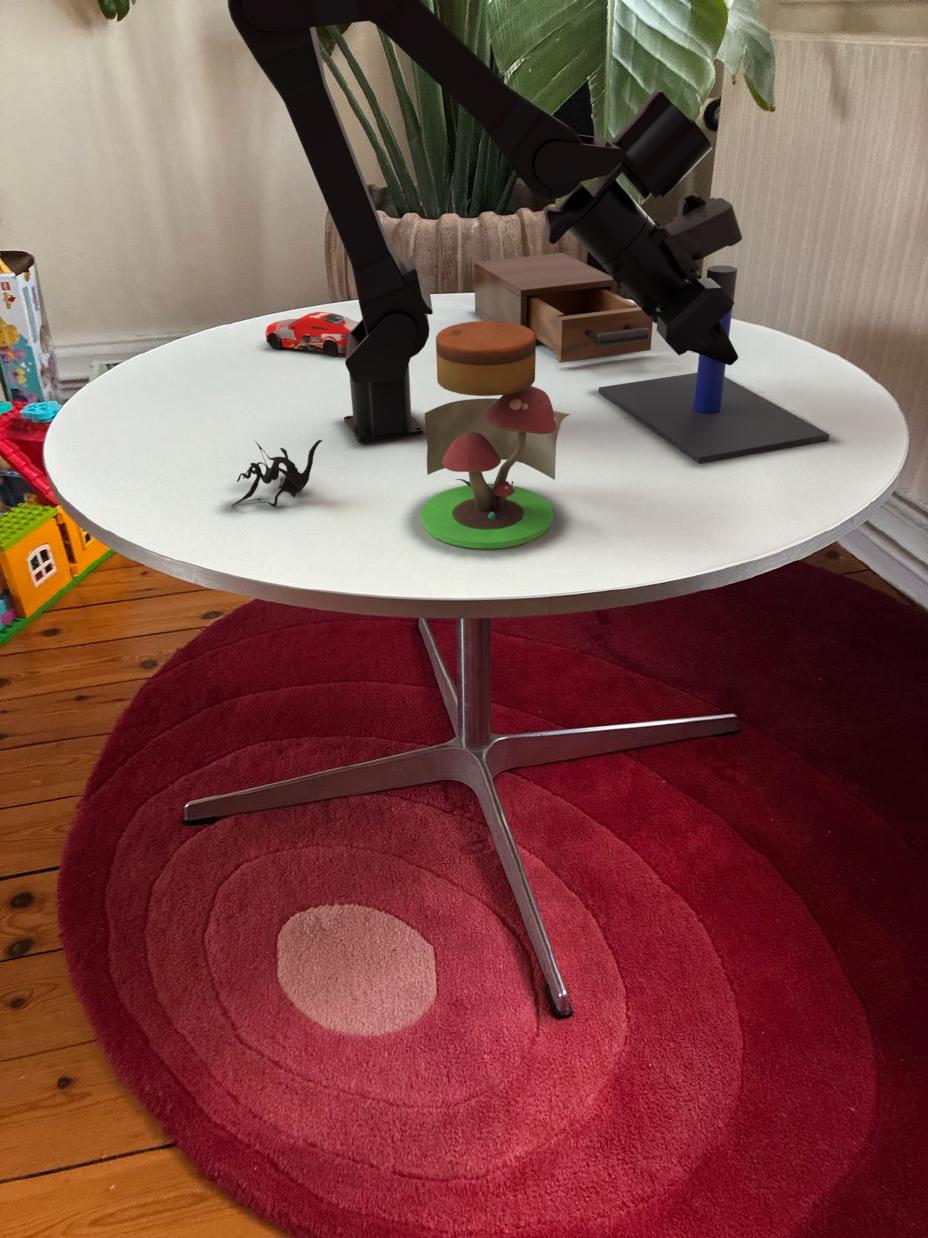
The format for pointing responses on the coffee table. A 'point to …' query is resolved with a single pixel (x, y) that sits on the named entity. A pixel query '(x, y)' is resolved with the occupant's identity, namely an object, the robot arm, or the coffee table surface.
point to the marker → (710, 369)
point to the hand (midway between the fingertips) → (728, 354)
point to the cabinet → (530, 283)
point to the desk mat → (711, 418)
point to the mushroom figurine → (489, 436)
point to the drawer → (588, 324)
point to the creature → (291, 482)
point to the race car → (312, 333)
